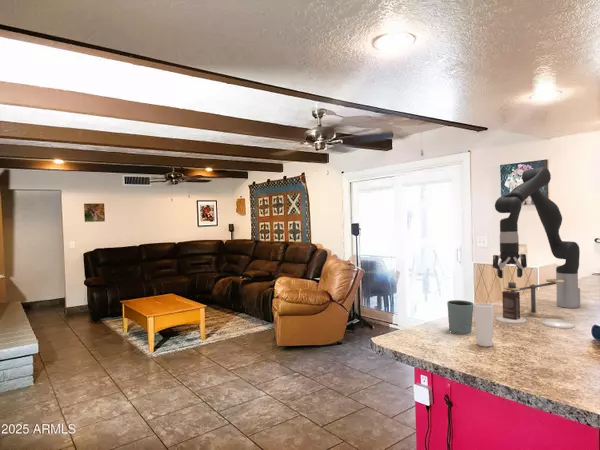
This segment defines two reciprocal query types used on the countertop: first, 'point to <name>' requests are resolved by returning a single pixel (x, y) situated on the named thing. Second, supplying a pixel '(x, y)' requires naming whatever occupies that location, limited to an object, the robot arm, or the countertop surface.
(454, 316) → the green cup
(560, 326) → the dish high side
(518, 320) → the dish low side
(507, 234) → the robot arm
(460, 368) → the countertop surface
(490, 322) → the drinking glass
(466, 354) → the countertop surface
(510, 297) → the box
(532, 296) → the balance
